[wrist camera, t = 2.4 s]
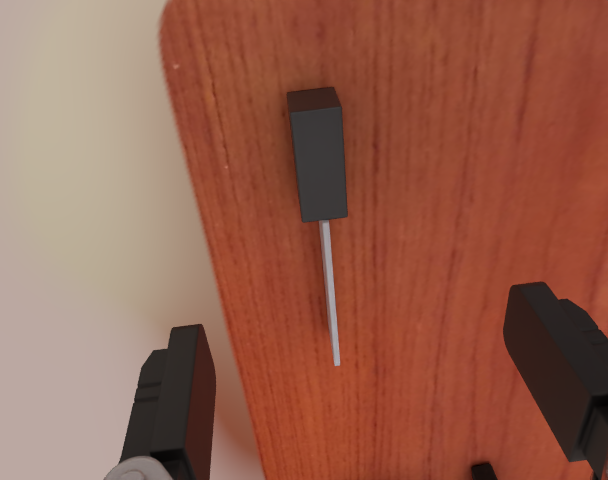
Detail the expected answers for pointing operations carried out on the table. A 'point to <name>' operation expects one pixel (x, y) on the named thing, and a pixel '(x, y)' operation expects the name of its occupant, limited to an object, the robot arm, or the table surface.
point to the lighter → (483, 472)
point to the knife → (320, 175)
